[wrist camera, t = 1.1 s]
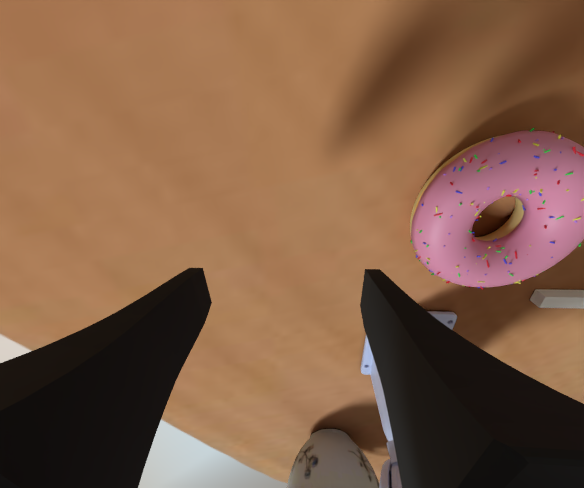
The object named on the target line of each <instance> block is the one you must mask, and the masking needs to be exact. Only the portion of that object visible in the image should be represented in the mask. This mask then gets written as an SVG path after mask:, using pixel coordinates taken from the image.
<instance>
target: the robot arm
mask: <svg viewBox="0 0 584 488" xmlns="http://www.w3.org/2000/svg"><path fill="white" fill-rule="evenodd" d="M211 303H212V302H211V298H210V295H209V291H208V287H207V283H206V279H205V275H204V271H203V268H189V269H187V270H185V271H183V272H182V273H180V274H178V275H177V276H175V277H173V278H172V279H170V280H169V281H167V282H166V283H164V284H162V285H161V286H159V287H158V288H156V289H155V290H153V291H151V292H150V293H148V294H147V295H145V296H143V297H142V298H140V299H138V300H137V301H135V302H133V303H131V304H130V305H128V306H126V307H125V308H123V309H121V310H120V311H118V312H116V313H114V314H112V315H110V316H108V317H107V318H105V319H103V320H101V321H99V322H97V323H95V324H93V325H91V326H89V327H87V328H85V329H82V330H80V331H78V332H76V333H73V334H71V335H69V336H67V337H65V338H62V339H60V340H58V341H56V342H53V343H51V344H49V345H46V346H44V347H41V348H39V349H36V350H34V351H31V352H29V353H26V354H24V355H21V356H19V357H16V358H13V359H11V360H8V361H5V362H3V363H0V488H138V485H139V482H140V479H141V475H142V472H143V469H144V466H145V463H146V460H147V457H148V454H149V451H150V448H151V445H152V442H153V439H154V436H155V434H156V431H157V428H158V425H159V423H160V420H161V417H162V415H163V412H164V409H165V406H166V404H167V401H168V399H169V396H170V394H171V391H172V389H173V386H174V384H175V381H176V379H177V377H178V375H179V373H180V371H181V369H182V367H183V365H184V363H185V361H186V359H187V357H188V355H189V353H190V351H191V349H192V347H193V345H194V343H195V341H196V339H197V337H198V335H199V333H200V331H201V329H202V327H203V325H204V323H205V321H206V318H207V315H208V312H209V309H210V306H211ZM360 307H361V313H362V318H363V324H364V328H365V332H366V338H365V344H364V351H363V357H362V363H361V373H363V374H370V375H371V379H372V384H373V388H374V392H375V396H376V401H377V405H378V409H379V414H380V418H381V422H382V426H383V430H384V433H385V435H386V438H387V440H388V441H389V442H387V447H388V452H389V456H390V459H388V460H387V461H385V462H384V464H383V466H382V470H381V477H380V483H379V488H584V404H583V403H580V402H578V401H576V400H574V399H572V398H570V397H568V396H566V395H564V394H562V393H560V392H558V391H556V390H554V389H552V388H550V387H548V386H546V385H544V384H542V383H540V382H538V381H536V380H535V379H533V378H531V377H529V376H527V375H525V374H523V373H521V372H520V371H518V370H516V369H514V368H512V367H511V366H509V365H507V364H505V363H504V362H502V361H500V360H498V359H497V358H495V357H493V356H492V355H490V354H488V353H487V352H485V351H483V350H482V349H480V348H478V347H477V346H475V345H474V344H472V343H471V342H469V341H467V340H466V339H464V338H463V337H462V336H460V335H459V334H457V333H456V332H454V331H453V330H452V329H453V327H454V324H455V322H456V319H457V315H456V314H455V313H454V312H437V311H426V310H425V309H423V308H422V307H421V306H420V305H419V304H417V303H416V302H415V301H414V300H413V299H412V298H410V297H409V296H408V295H407V294H406V293H405V292H404V291H403V290H401V289H400V288H399V287H398V286H397V285H396V284H395V283H394V282H393V281H392V280H391V279H390V278H389V277H387V276H386V275H385V274H384V273H383V272H382V271H381V270H380V269H365V274H364V282H363V289H362V297H361V304H360ZM449 320H450V321H449Z"/></svg>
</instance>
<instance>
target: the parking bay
mask: <svg viewBox="0 0 584 488" xmlns="http://www.w3.org/2000/svg"><path fill="white" fill-rule="evenodd" d="M530 301H532V302H533V303H534V304H535V305H536V306H538V307H539V308H584V290H550V289H535V291H534V293H533V295H532V296H531V298H530Z"/></svg>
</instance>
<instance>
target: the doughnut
mask: <svg viewBox="0 0 584 488" xmlns="http://www.w3.org/2000/svg"><path fill="white" fill-rule="evenodd" d="M534 129H535V128H532V129H531V130H524V131H518V132H513V133H509V134H506V135H501V136H496V137H493V138H489V139H486V140H483V141H481V142H478V143H476V144H474V145H472V146H470V147H468V148H466V149H464V150H462V151H461V152H459V153H457V154H456V155H454V156H453V157H452V158H450V159H449V160H448V161H446V162H445V163H444V164H443V165H442V166H441V167H439V168H438V169H437V170H436V171H435V172H434V174H433V175H432V176H431V177H430V178H429V179H428V181H427V182H426V183H425V185H424V186H423V188H422V189H421V191H420V193H419V194H418V196H417V198H416V201H415V203H414V206H413V209H412V213H411V218H410V234H411V243H412V245H413V248H414V250H415V251H414V252H415V253H416V258H417V257H418V259H419V261H421V263H422V264H423V265H424V266H425V267H426V268H427V269H429V271H431V272H433V273H432V274H431V275H437V276H439V277H441V278H443V281H444V280H448V282H446V283H449V282H453V283H456V284H459V285H463V286H469V287H478V288H481V289H482V290H483V287H487V288H488V287H497V286H504V285H508V284H513V283H519V284H521V283H520V281H524V280H526V279H528V278H530V277H533V276H534V277H536V276H535V275H537V276H538V275H539V273H541V272H544V271H545V270H547V269H548V268H550V267H552V266H553V265H555V264H556V263H558V262H559V261H561V260H562V259H563V258H565V257H566V256H567V255H568V254H570V253H571V252H572V251H573V250H574V249H575V248H576V247H577V246H579V247H580V246H581V242H582V241H583V239H584V147H582V146H581V145H580V144H578V143H576V142H574V141H572V140H570V139H567V138H565V137H563V136H561V134H560V135H558V134H556V133H554V131H553V132H548V131H536V130H534ZM505 196H514V197H515V201H516V203H515V208H514V211H513V213H512V215H511V217H510V218H509V219H508V221H507V222H506V223H505V224H504V225H503V226H501V227H500V228H499V229H497V230H496V231H494V232H492V233H490V234H488V235H485V236H482V237H474V236H475V235H473V233H475V232H472V227H473V224H474V222H475V221H478V219H477V218H479V217H481V216H478V215H479V214H480V213H481V212H482V211H483V210H484V209H485V208H486V207H487V206H488V205H490V204H491V203H493V202H494V201H496V200H498V199H500V198H502V197H505Z"/></svg>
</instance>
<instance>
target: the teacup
mask: <svg viewBox="0 0 584 488" xmlns="http://www.w3.org/2000/svg"><path fill="white" fill-rule="evenodd" d="M287 488H379V482H378V479H377V477H376V475H375V472H374V470H373V468H372V466H371V464H370V463H369V461H368V459H367V458H366V456H365V455H364V453H363V452H362V451H361V449H360V448H359V447H358V446H357V445H356V444H355V443H354V442H353V441H352V440H351V439H350V437H349V436H348V435H347V434H346V433H345V432H343V431H341V430H338V429H322V430H319V431H317V432H315V433H312V434H311V436H310V439H309V440H308V441H307V442H306V443H305V444H304V446H303V447H302V448H301V450H300V452H299V453H298V455H297V457H296V459H295V461H294V464H293V466H292V469H291V473H290V476H289V480H288V484H287Z"/></svg>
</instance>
